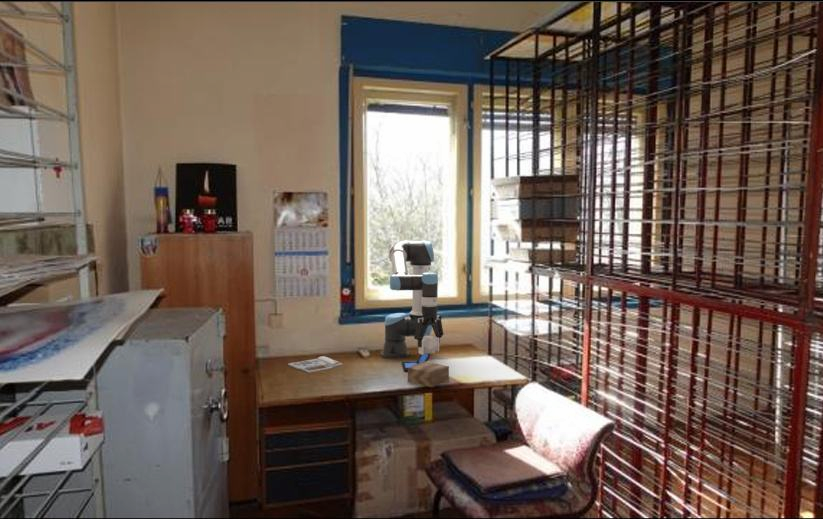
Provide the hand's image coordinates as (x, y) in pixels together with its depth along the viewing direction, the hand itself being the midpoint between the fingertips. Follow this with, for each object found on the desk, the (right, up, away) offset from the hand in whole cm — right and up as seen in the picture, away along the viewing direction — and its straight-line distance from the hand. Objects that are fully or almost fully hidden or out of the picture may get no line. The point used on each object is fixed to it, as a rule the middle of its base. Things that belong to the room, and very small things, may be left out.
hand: (428, 352), depth 254 cm
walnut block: (0, -14, +1) cm, 14 cm away
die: (0, 0, 0) cm, 0 cm away
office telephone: (-58, -12, +26) cm, 64 cm away
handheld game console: (-6, -12, +23) cm, 27 cm away
